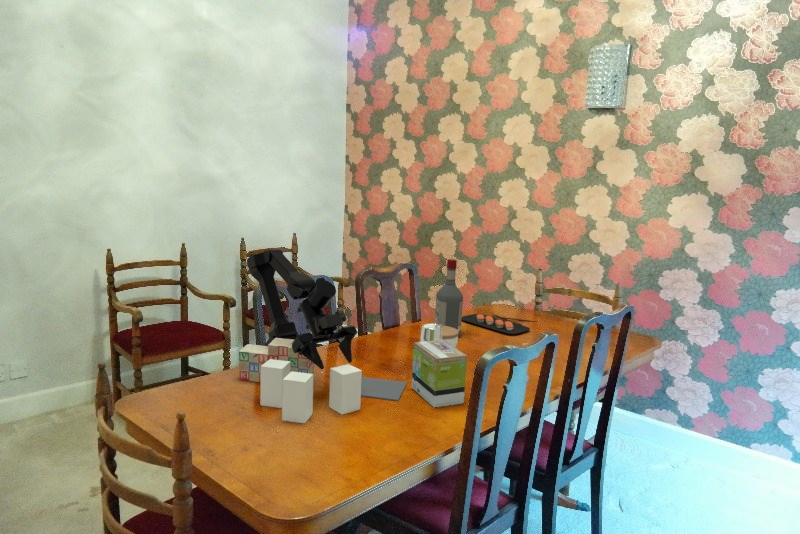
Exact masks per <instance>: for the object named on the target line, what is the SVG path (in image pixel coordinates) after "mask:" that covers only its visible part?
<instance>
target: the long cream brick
mask: <svg viewBox="0 0 800 534" xmlns="http://www.w3.org/2000/svg"><path fill="white" fill-rule="evenodd" d="M290 365H291V362H290V361H282V360H273V359H269V360H268V361H267V362H266V363H264V364H263V365H262V366H261V382H260V401H259V402H260V406H262V407H263V406H264V407H269V408H278V409H282V395H283V379H284V378H285V377H286V376H287V375H288V374H289V373H290Z"/></svg>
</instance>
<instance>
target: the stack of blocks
mask: <svg viewBox="0 0 800 534" xmlns="http://www.w3.org/2000/svg"><path fill="white" fill-rule="evenodd" d="M293 342H294V340H293V339H282V338H275V339H274V340H273V341H272V342H271V343H270V344H269V345H268V346H264V345H260V344H250V343H249V344H246V345H245V346H243V348H241V349H240V350H239V351H238V360H239V380H240V381H249V382H256V383H261V366H262V365H263V364H264V363H266V362H267V361H268V360H269V359H273V360H282V361H290V362H291V365H290V372H291V371H292V372H301V373H309V374H313V382H314V380H315V364H314V363H313V362H312V361H311V360H309V359H308V358H306V357H305V356H303V355H299V352H298V353H294V351H293V349H292V343H293Z"/></svg>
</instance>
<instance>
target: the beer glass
mask: <svg viewBox="0 0 800 534" xmlns="http://www.w3.org/2000/svg"><path fill="white" fill-rule="evenodd" d="M433 340H442V326H441V325H438V324H435V323H424V324H422V325H421V332H420V341H419V342H424V341H433Z"/></svg>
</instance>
